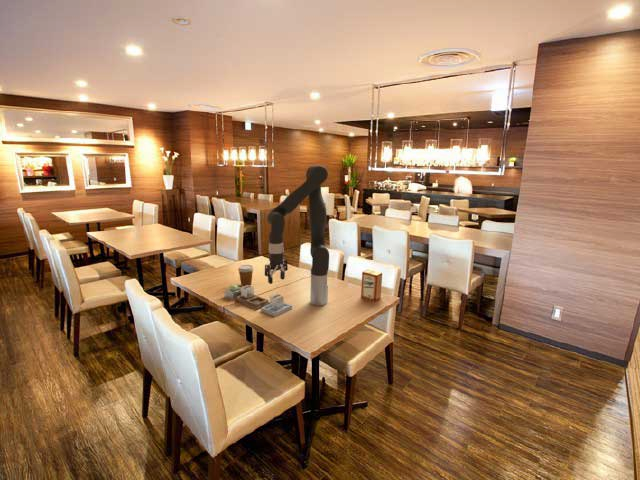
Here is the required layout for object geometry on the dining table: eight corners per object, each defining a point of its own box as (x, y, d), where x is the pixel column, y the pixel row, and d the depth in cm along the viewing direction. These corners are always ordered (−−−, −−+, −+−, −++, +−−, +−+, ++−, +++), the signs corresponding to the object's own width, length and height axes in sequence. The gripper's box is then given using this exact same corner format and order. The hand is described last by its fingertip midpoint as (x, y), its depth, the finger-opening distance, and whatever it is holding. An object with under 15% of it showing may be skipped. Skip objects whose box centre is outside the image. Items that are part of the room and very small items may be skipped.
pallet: (248, 295, 191) (248, 291, 190) (270, 304, 180) (270, 299, 179) (234, 301, 183) (234, 296, 182) (256, 310, 172) (256, 305, 172)
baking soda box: (380, 298, 192) (382, 272, 189) (375, 301, 187) (377, 274, 184) (366, 293, 198) (368, 268, 194) (361, 297, 193) (362, 271, 189)
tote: (278, 303, 181) (278, 300, 180) (292, 308, 175) (292, 305, 175) (261, 311, 171) (261, 307, 170) (274, 316, 165) (274, 313, 164)
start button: (235, 290, 191) (234, 284, 190) (238, 292, 189) (238, 285, 188) (230, 292, 188) (230, 286, 187) (234, 294, 186) (233, 287, 185)
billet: (276, 305, 176) (276, 293, 175) (283, 308, 173) (283, 295, 172) (270, 308, 172) (269, 296, 171) (276, 311, 169) (276, 298, 168)
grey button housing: (235, 293, 194) (235, 286, 193) (244, 296, 190) (244, 289, 189) (224, 297, 188) (224, 289, 187) (233, 300, 183) (233, 293, 182)
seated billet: (248, 296, 187) (247, 284, 185) (253, 298, 184) (253, 286, 182) (241, 299, 183) (240, 287, 181) (247, 301, 180) (246, 289, 178)
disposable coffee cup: (236, 284, 208) (235, 266, 206) (249, 281, 214) (249, 263, 212) (242, 288, 201) (242, 270, 199) (256, 285, 207) (256, 267, 205)
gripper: (280, 247, 174) (281, 276, 177) (260, 252, 163) (261, 283, 166) (291, 249, 169) (291, 279, 173) (271, 255, 158) (271, 286, 162)
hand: (276, 281), depth 170 cm, fingers open, 8 cm apart
